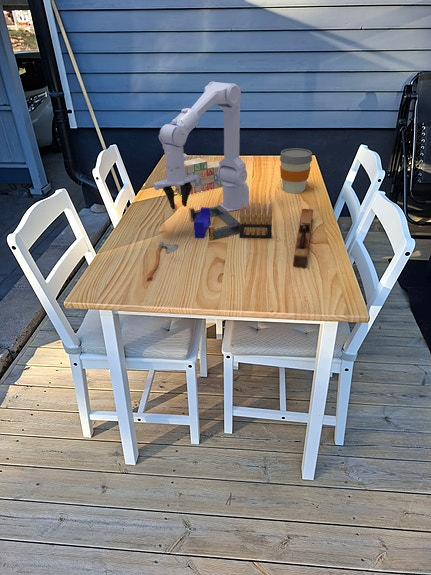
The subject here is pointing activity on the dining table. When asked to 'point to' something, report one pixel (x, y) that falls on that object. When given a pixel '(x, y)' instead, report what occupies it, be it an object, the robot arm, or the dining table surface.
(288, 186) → the reusable coffee cup
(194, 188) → the stack of blocks
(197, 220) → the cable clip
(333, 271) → the dining table surface
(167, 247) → the axe
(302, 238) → the hand plane
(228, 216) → the keeper cradle
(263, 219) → the ammunition clip
